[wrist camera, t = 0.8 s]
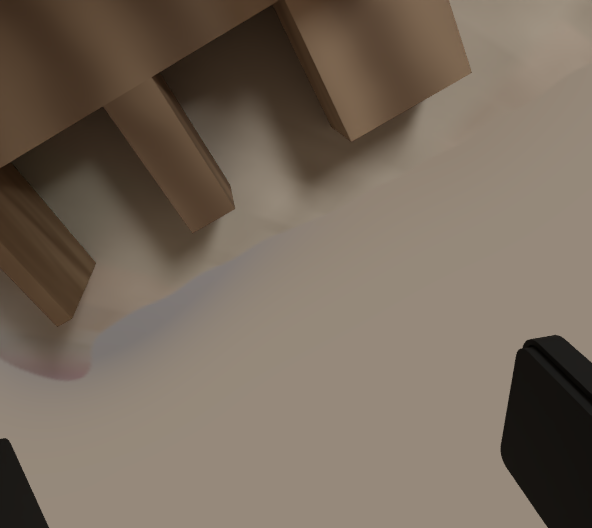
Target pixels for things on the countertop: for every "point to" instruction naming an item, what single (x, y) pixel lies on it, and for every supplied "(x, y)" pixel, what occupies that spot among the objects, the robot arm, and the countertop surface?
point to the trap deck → (167, 111)
